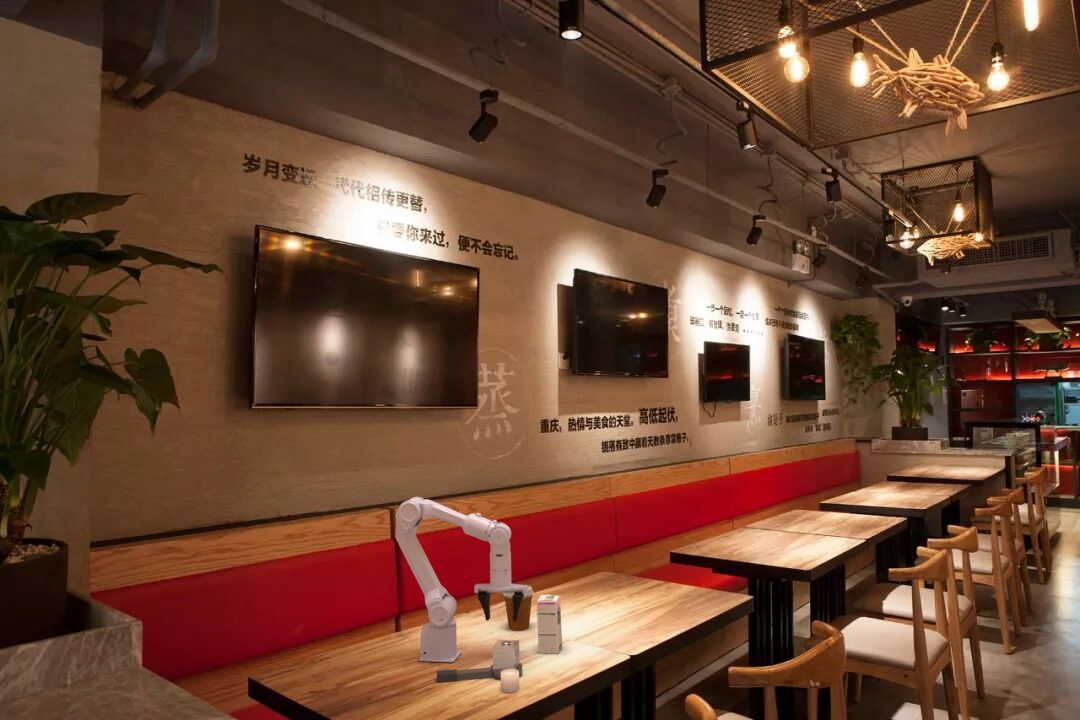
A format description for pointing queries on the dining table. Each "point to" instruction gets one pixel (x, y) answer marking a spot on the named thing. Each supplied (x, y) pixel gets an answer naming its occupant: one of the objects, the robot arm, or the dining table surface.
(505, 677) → the pale pink cylinder
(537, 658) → the dining table surface
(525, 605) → the disposable coffee cup
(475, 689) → the dining table surface
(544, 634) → the syrup box
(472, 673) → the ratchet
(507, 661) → the tan square block
